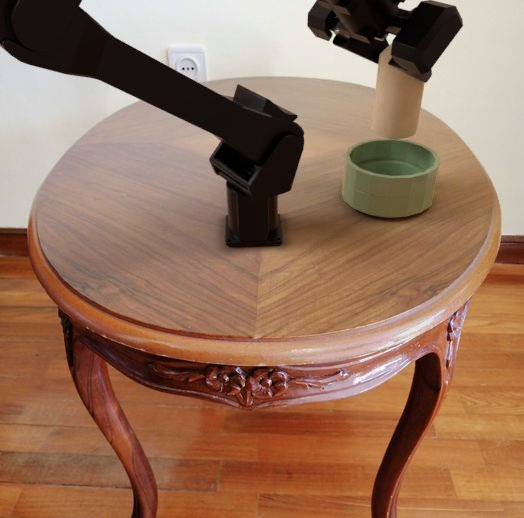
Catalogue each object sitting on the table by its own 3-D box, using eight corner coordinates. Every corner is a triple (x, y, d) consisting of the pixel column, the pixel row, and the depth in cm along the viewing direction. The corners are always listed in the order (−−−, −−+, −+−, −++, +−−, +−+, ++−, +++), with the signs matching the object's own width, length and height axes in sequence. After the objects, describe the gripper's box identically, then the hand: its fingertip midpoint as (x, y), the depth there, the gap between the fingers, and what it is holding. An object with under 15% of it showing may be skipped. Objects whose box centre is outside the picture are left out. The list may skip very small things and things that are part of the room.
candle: (362, 126, 74) (371, 38, 67) (400, 120, 75) (413, 33, 69) (385, 142, 70) (398, 50, 63) (425, 135, 71) (441, 44, 65)
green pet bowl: (442, 219, 71) (451, 175, 67) (348, 222, 71) (352, 179, 67) (420, 177, 79) (426, 137, 75) (336, 180, 79) (339, 139, 75)
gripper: (472, -101, 50) (522, 27, 61) (335, -113, 62) (399, -4, 73) (388, 17, 52) (452, 119, 63) (271, -17, 64) (343, 74, 75)
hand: (410, 72), depth 69 cm, fingers closed on candle, 5 cm apart
